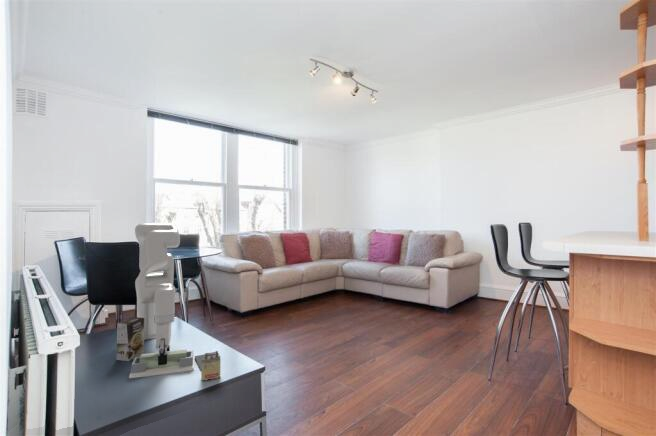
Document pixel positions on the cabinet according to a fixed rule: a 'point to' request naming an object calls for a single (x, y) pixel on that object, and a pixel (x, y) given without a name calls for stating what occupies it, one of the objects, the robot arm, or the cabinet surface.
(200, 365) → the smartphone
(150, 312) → the robot arm
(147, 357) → the rail
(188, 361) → the bracket board
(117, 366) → the cabinet surface
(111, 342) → the cabinet surface
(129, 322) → the coffee box
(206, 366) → the worn yellow tin
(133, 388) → the cabinet surface
